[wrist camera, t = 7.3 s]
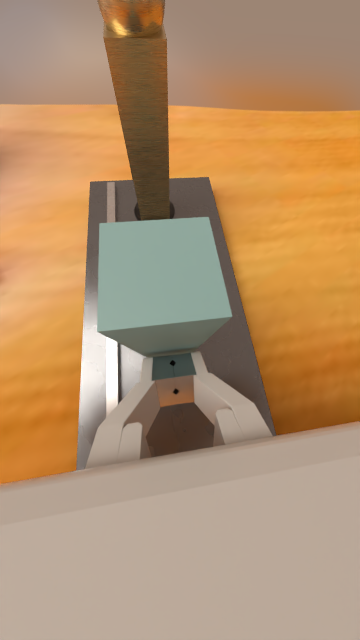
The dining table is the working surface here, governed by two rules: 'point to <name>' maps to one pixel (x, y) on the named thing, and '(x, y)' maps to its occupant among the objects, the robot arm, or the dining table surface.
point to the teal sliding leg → (160, 285)
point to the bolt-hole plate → (153, 204)
